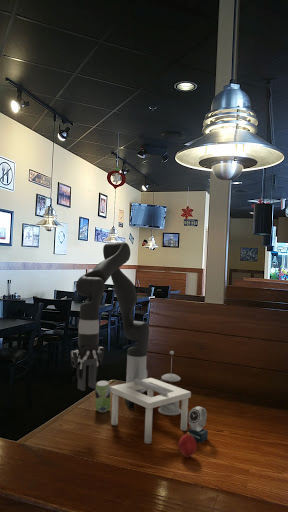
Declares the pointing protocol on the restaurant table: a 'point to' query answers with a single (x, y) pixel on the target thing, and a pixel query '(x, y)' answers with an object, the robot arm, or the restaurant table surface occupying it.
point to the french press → (174, 406)
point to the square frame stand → (150, 400)
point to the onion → (187, 445)
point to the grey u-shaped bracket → (92, 374)
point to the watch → (198, 418)
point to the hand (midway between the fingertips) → (87, 377)
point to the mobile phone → (130, 404)
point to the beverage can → (102, 396)
